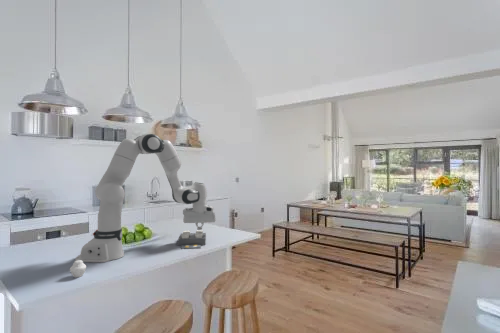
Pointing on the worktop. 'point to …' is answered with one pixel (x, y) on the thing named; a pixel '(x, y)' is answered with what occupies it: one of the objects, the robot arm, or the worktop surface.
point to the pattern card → (190, 246)
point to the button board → (192, 240)
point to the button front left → (185, 235)
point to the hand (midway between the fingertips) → (199, 229)
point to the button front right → (198, 235)
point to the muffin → (78, 268)
